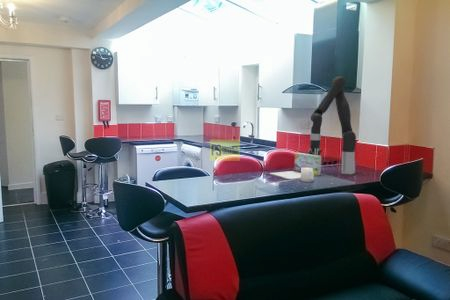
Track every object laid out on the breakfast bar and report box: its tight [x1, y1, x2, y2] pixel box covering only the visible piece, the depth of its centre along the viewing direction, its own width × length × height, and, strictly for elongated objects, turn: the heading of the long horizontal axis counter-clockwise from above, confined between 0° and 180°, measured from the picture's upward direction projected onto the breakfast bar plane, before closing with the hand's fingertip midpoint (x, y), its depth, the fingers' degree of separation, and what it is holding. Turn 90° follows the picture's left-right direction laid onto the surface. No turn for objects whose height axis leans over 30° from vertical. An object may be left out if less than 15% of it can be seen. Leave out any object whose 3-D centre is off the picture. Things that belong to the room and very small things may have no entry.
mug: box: [300, 167, 315, 183], centre depth 256 cm, size 8×11×9 cm
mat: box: [268, 170, 301, 180], centre depth 279 cm, size 22×26×1 cm
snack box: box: [293, 152, 322, 177], centre depth 284 cm, size 21×6×15 cm, turn 42°
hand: (314, 161), depth 287 cm, fingers closed
